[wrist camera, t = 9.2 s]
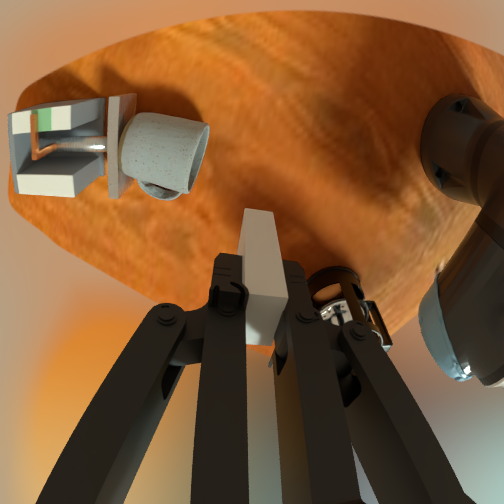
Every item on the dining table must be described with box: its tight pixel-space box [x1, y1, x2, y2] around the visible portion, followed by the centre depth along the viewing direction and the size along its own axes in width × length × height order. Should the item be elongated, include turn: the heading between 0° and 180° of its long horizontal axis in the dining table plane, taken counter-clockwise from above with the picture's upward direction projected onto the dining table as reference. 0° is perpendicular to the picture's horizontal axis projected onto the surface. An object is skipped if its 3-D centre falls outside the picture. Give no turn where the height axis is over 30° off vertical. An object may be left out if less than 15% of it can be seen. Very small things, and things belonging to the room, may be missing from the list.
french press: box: [307, 266, 393, 353], centre depth 33 cm, size 12×9×23 cm
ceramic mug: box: [117, 112, 210, 200], centre depth 28 cm, size 11×8×8 cm
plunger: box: [30, 93, 137, 199], centre depth 25 cm, size 12×11×7 cm
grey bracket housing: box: [8, 98, 106, 197], centre depth 26 cm, size 10×10×7 cm
